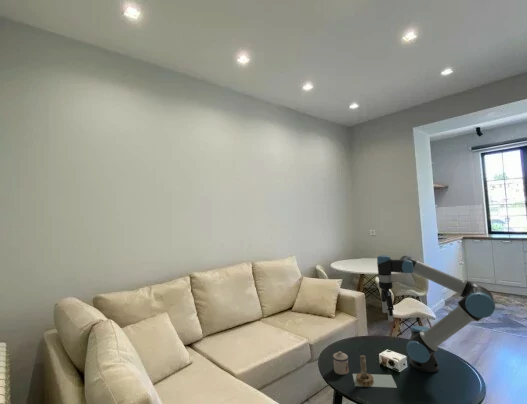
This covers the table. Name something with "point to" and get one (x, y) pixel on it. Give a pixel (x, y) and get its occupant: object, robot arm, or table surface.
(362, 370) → the birch dowel
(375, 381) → the felt mat
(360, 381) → the wooden ring
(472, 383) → the table surface
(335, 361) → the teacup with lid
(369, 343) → the table surface
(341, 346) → the table surface
